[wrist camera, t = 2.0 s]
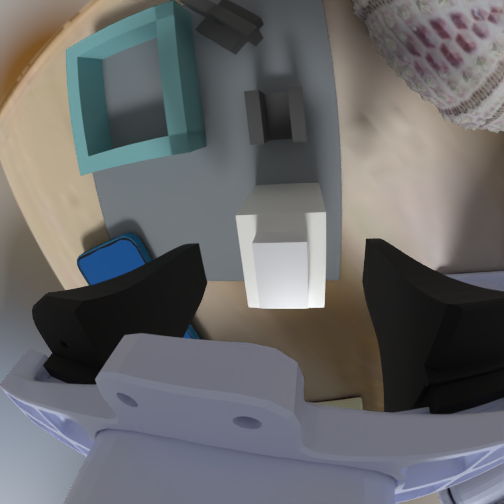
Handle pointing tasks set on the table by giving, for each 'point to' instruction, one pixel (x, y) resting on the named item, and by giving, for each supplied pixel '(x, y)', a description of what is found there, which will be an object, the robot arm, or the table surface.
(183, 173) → the board
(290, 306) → the connector plug
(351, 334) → the table surface
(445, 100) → the sea urchin shell
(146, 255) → the smartphone
